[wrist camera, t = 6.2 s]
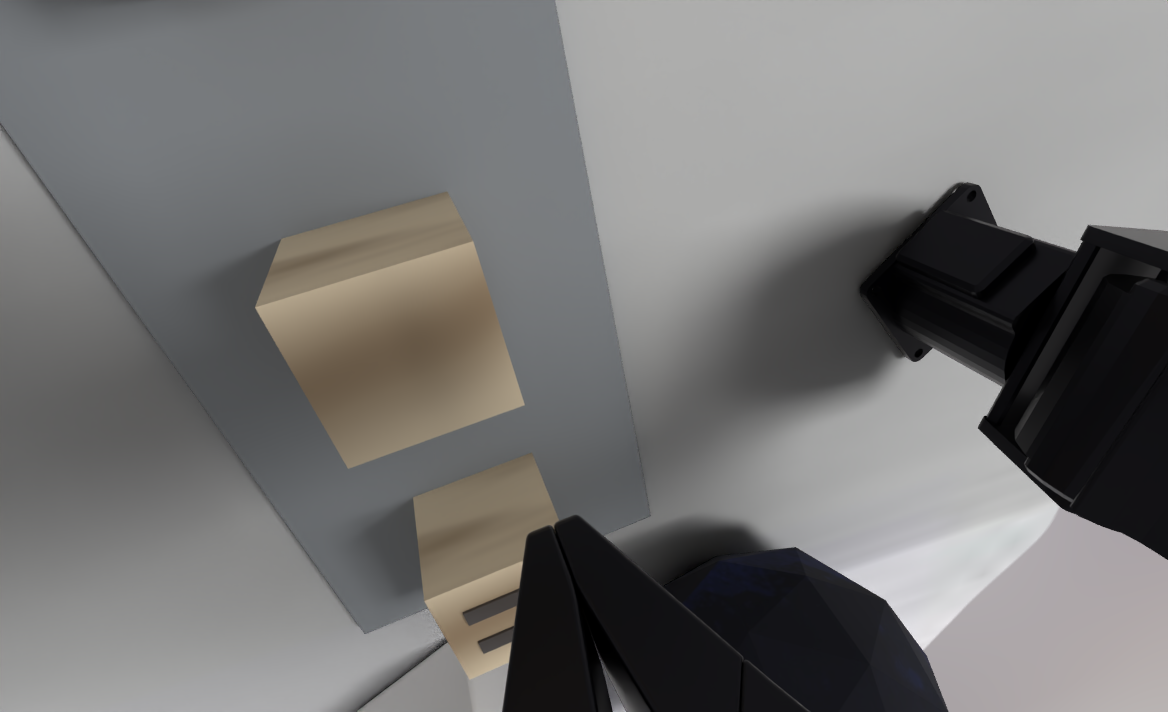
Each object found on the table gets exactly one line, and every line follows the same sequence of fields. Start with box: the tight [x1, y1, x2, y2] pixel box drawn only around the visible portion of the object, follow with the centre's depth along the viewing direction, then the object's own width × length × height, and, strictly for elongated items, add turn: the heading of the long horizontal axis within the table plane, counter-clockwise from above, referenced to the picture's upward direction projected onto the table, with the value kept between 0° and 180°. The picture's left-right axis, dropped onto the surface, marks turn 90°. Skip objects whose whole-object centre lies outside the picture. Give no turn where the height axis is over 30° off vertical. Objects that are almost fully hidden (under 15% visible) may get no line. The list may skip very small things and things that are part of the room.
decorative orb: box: [663, 547, 948, 712], centre depth 28 cm, size 14×15×15 cm
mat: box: [0, 0, 651, 634], centre depth 19 cm, size 30×14×1 cm, turn 12°
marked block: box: [413, 453, 559, 680], centre depth 22 cm, size 5×5×5 cm
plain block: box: [255, 192, 525, 469], centre depth 16 cm, size 5×5×5 cm
